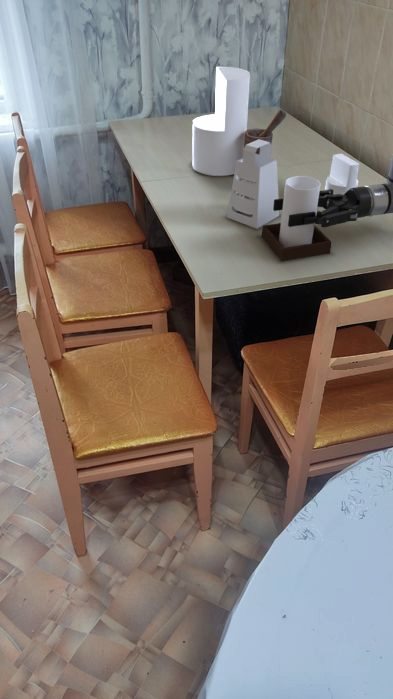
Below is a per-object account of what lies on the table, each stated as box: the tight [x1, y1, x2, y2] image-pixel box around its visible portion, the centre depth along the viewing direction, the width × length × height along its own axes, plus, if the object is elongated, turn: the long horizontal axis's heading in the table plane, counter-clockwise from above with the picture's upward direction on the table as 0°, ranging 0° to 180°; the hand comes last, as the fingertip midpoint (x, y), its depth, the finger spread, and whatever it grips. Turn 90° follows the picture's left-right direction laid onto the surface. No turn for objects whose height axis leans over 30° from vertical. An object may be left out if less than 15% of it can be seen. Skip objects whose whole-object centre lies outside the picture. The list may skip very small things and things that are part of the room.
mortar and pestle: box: [244, 109, 287, 155], centre depth 168 cm, size 12×9×20 cm
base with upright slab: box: [324, 153, 360, 204], centre depth 156 cm, size 9×9×12 cm
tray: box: [260, 222, 333, 262], centre depth 137 cm, size 13×13×3 cm
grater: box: [225, 139, 280, 229], centre depth 144 cm, size 10×10×20 cm
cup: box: [279, 175, 322, 248], centre depth 133 cm, size 8×8×16 cm
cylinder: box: [191, 65, 251, 177], centre depth 171 cm, size 17×17×28 cm
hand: (281, 212), depth 131 cm, fingers closed on cup, 8 cm apart
